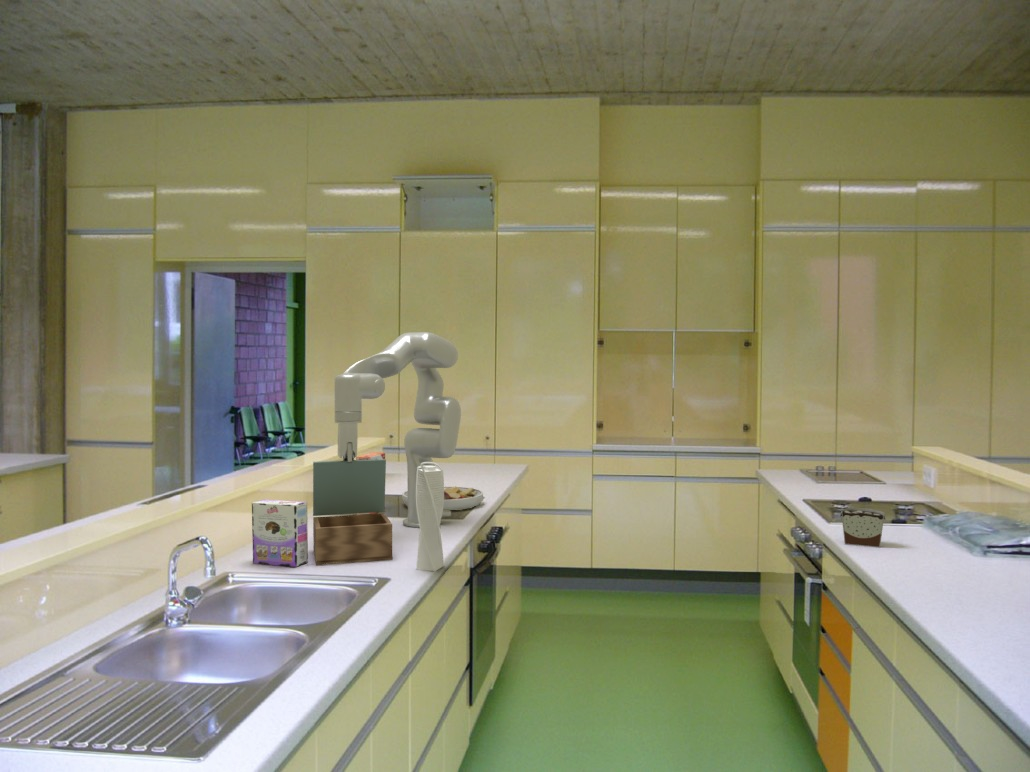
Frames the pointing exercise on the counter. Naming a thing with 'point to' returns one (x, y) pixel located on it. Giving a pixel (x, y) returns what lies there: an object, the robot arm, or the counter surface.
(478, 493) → the bowl
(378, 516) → the storage box
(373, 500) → the box lid
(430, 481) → the skyscraper
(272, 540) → the candy box
